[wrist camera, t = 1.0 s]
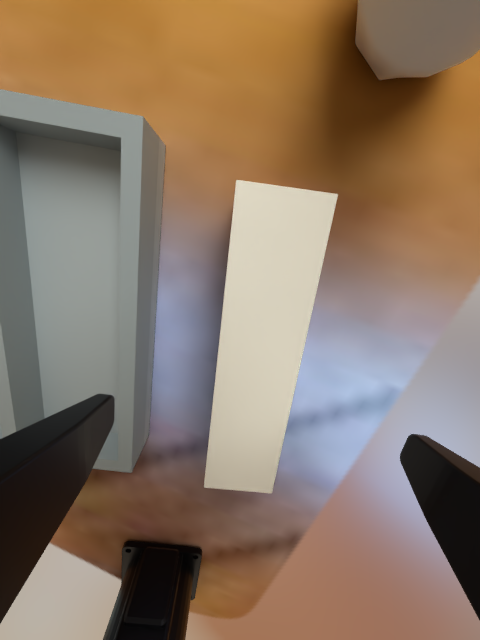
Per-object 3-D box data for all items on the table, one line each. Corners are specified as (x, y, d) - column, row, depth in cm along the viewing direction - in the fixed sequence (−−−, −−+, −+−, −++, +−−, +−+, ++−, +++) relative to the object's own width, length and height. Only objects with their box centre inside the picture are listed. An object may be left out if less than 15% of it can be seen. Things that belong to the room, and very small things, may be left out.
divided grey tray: (149, 434, 17) (131, 472, 15) (-52, 410, 17) (-112, 445, 14) (165, 145, 12) (143, 116, 9) (-129, 91, 11) (-252, 41, 8)
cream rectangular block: (262, 424, 18) (271, 493, 13) (213, 419, 17) (203, 487, 13) (302, 210, 13) (338, 193, 8) (237, 201, 13) (236, 179, 8)
